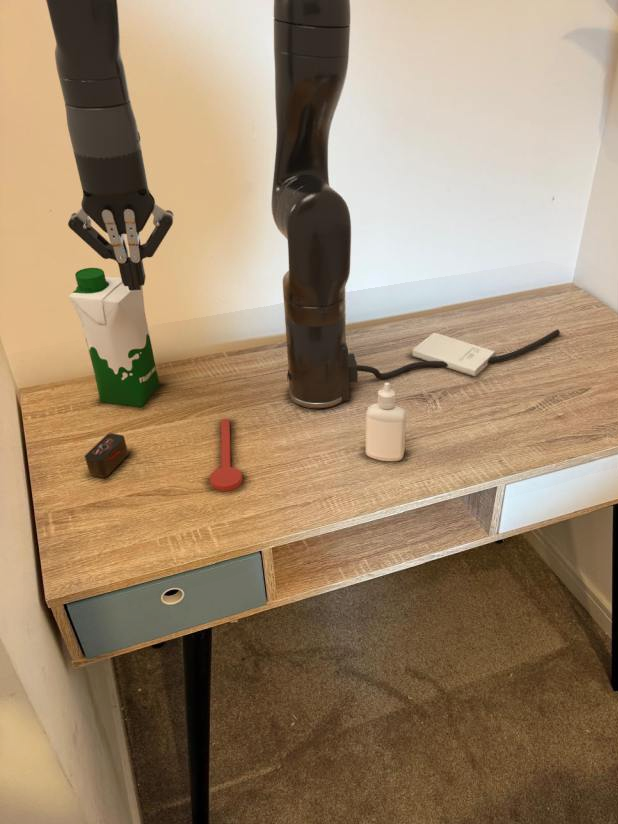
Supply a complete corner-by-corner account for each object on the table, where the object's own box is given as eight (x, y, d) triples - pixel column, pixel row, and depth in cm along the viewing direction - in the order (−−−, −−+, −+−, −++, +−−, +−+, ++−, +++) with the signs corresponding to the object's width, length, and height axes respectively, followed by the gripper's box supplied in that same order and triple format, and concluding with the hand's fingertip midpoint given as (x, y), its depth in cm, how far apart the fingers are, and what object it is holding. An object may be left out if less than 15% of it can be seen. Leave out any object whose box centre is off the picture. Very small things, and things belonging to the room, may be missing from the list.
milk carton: (117, 376, 124) (89, 259, 111) (168, 383, 123) (145, 265, 110) (92, 404, 117) (58, 283, 104) (145, 411, 116) (118, 290, 103)
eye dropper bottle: (389, 469, 106) (392, 397, 98) (360, 453, 109) (361, 382, 101) (408, 455, 109) (413, 385, 101) (380, 440, 112) (382, 370, 104)
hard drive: (434, 339, 137) (495, 358, 132) (411, 357, 131) (474, 377, 126) (434, 331, 135) (496, 349, 131) (412, 349, 130) (475, 369, 125)
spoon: (240, 422, 114) (239, 417, 114) (242, 489, 102) (242, 484, 101) (211, 424, 114) (210, 419, 113) (210, 492, 101) (209, 487, 101)
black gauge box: (133, 451, 108) (129, 433, 106) (105, 480, 103) (100, 461, 101) (105, 445, 109) (100, 427, 107) (76, 473, 104) (70, 454, 102)
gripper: (40, 155, 82) (79, 303, 93) (163, 152, 84) (186, 297, 95) (52, 137, 87) (87, 278, 99) (166, 135, 89) (188, 274, 101)
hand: (135, 287), depth 97 cm, fingers closed
